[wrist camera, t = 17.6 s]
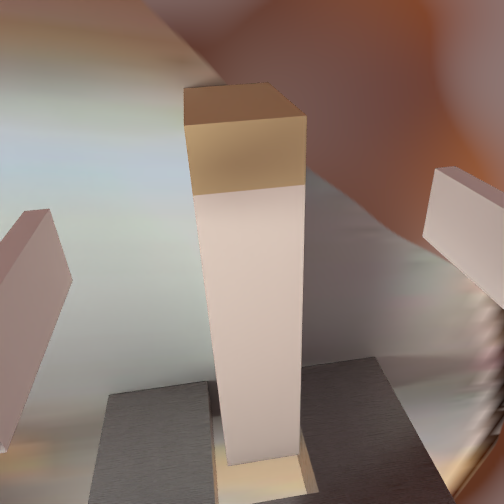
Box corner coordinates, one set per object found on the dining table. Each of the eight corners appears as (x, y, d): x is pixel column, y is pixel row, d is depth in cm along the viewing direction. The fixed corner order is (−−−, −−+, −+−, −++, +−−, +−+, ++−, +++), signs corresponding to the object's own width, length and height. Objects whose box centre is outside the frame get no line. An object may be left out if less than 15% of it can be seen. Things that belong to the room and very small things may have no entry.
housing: (369, 393, 40) (473, 607, 26) (120, 431, 38) (82, 691, 24) (374, 356, 38) (493, 572, 23) (108, 395, 35) (57, 661, 21)
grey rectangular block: (274, 360, 36) (299, 454, 29) (218, 368, 36) (227, 466, 28) (267, 82, 24) (306, 115, 17) (183, 88, 24) (183, 125, 16)
